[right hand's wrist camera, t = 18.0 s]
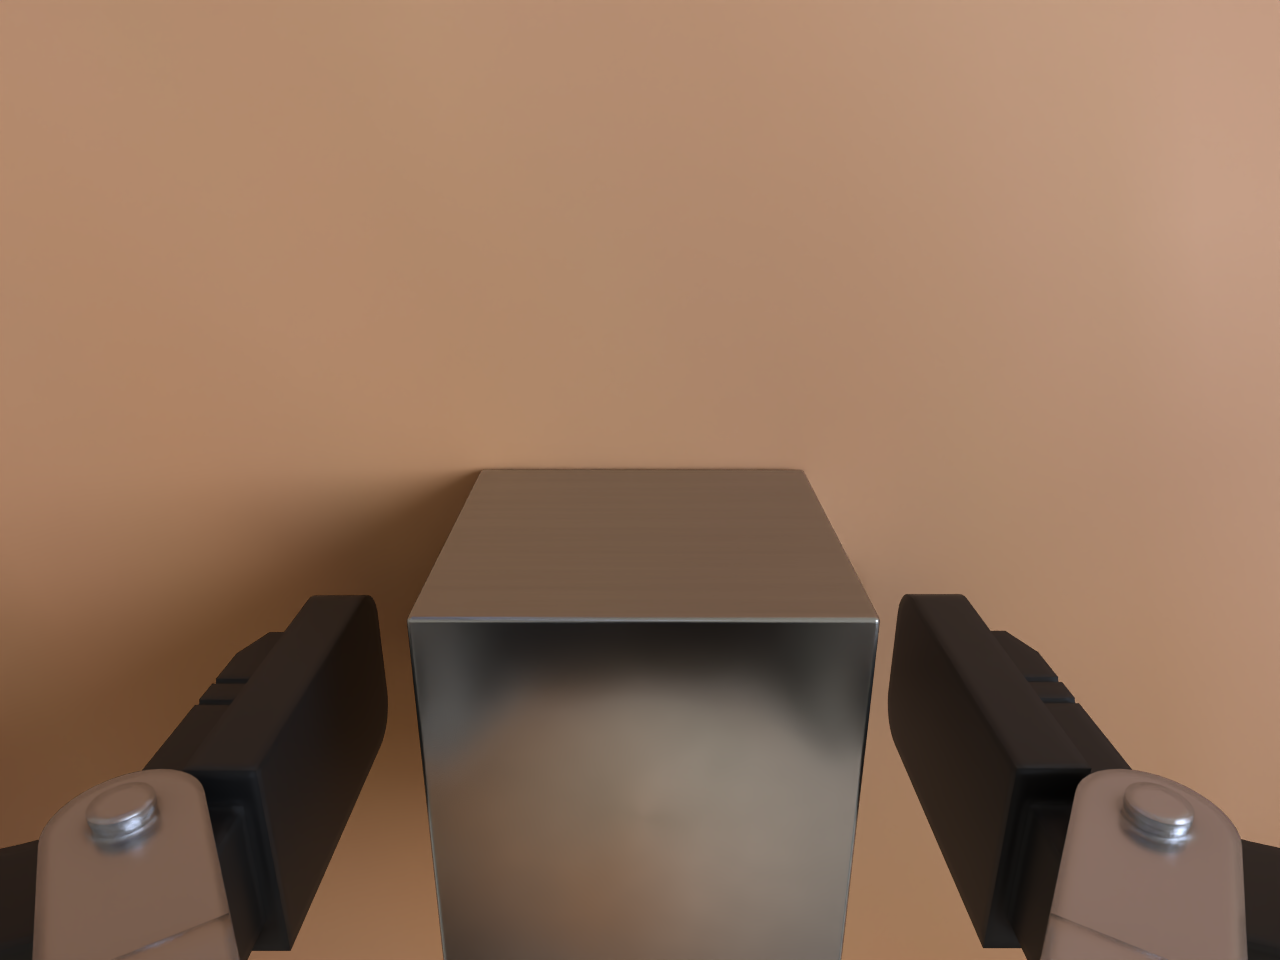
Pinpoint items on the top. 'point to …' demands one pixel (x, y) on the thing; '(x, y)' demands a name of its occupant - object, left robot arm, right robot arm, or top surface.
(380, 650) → the right robot arm
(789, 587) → the block
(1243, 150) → the top surface
